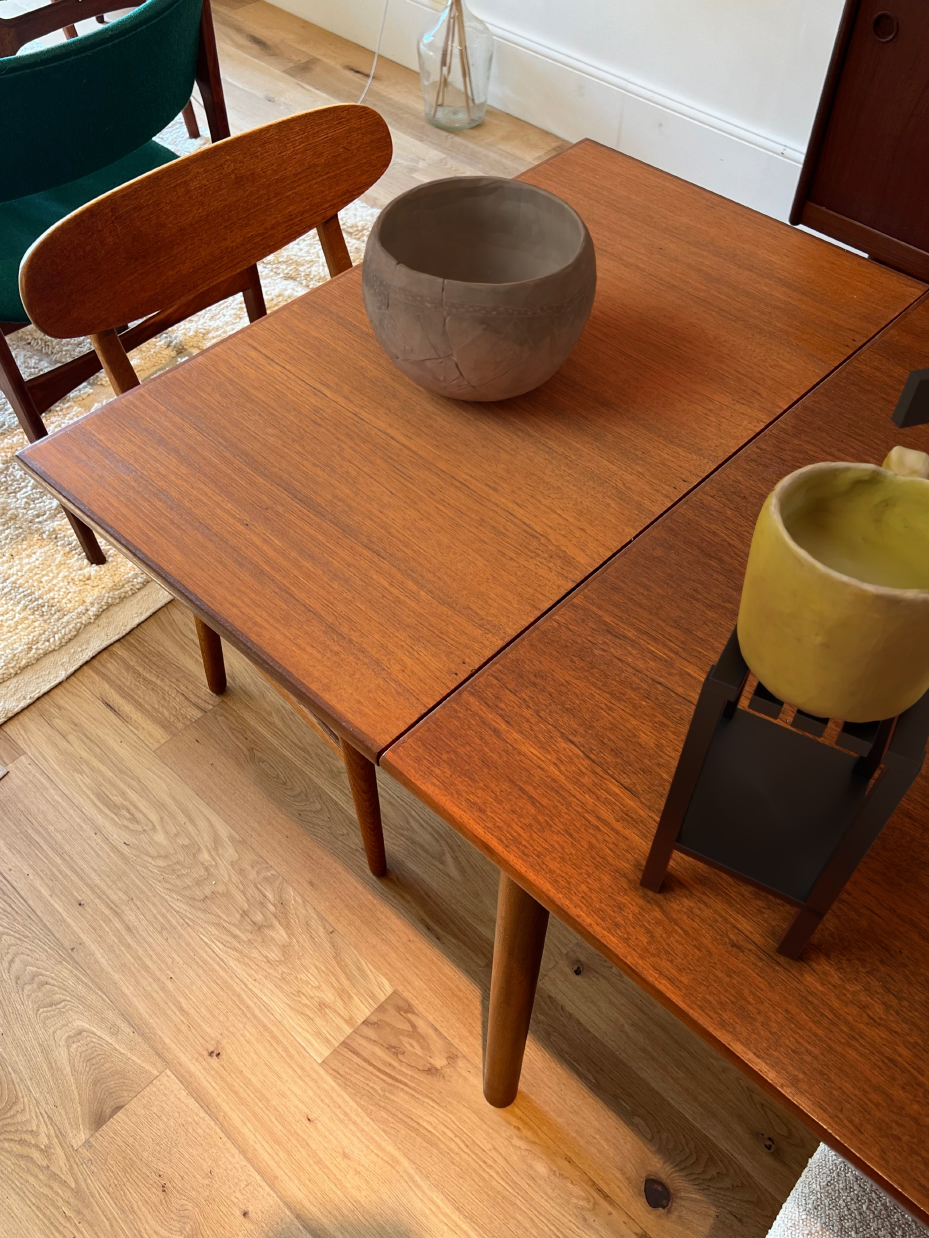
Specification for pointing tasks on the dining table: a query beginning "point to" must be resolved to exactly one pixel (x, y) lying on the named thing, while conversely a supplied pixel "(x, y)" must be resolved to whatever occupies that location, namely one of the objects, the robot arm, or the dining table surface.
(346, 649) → the dining table surface
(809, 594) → the mug
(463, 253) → the bowl
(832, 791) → the rack
